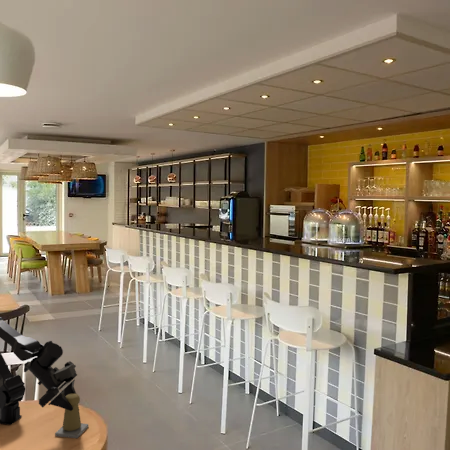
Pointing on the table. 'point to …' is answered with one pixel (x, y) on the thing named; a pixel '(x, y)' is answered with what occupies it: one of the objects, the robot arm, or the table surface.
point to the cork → (72, 413)
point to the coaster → (72, 432)
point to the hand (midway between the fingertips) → (75, 406)
